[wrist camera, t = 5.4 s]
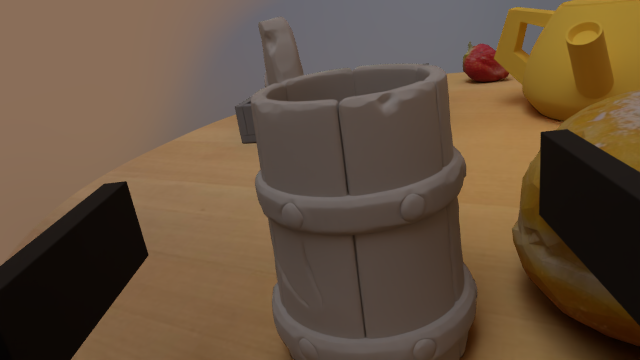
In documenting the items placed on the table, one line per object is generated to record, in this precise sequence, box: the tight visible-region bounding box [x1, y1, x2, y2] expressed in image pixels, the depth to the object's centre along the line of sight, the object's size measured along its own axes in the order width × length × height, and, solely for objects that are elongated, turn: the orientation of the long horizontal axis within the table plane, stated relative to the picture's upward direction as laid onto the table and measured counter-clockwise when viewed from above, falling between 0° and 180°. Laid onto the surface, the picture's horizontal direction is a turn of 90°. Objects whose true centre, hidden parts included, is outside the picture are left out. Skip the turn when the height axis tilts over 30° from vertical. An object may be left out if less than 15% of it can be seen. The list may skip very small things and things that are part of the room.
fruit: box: [463, 42, 509, 82], centre depth 60 cm, size 4×6×5 cm
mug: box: [251, 17, 477, 360], centre depth 19 cm, size 8×12×12 cm, turn 26°
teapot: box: [494, 0, 640, 121], centre depth 40 cm, size 20×18×11 cm
